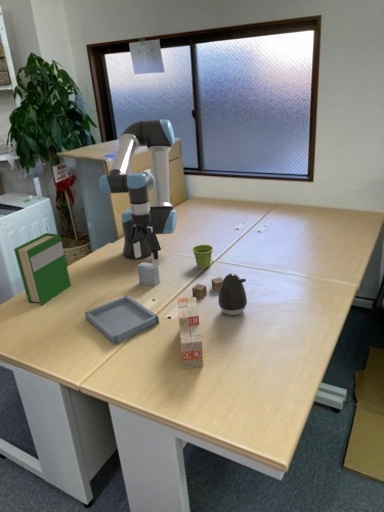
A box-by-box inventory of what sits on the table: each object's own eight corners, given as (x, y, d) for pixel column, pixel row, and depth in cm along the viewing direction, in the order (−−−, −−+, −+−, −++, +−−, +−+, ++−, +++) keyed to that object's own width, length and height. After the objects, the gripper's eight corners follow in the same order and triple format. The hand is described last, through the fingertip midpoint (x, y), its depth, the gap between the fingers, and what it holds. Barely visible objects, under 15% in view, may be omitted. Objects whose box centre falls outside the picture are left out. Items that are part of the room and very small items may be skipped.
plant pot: (212, 270, 179) (211, 252, 176) (191, 270, 181) (190, 252, 178) (215, 261, 188) (214, 244, 184) (195, 261, 190) (194, 244, 186)
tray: (86, 319, 149) (84, 312, 148) (127, 301, 159) (126, 294, 158) (114, 344, 133) (113, 337, 132) (159, 323, 143) (158, 316, 142)
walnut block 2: (211, 287, 165) (211, 279, 163) (220, 285, 166) (220, 277, 164) (215, 292, 162) (215, 283, 160) (224, 289, 163) (224, 281, 161)
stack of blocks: (203, 367, 120) (201, 332, 115) (183, 369, 120) (179, 334, 115) (198, 327, 140) (195, 296, 135) (180, 328, 139) (177, 298, 134)
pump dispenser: (240, 322, 140) (238, 283, 134) (214, 315, 146) (211, 277, 140) (252, 308, 148) (251, 271, 142) (227, 302, 153) (225, 266, 147)
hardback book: (42, 305, 162) (28, 250, 152) (28, 302, 165) (13, 248, 155) (71, 285, 176) (59, 234, 167) (57, 283, 179) (46, 233, 169)
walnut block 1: (192, 296, 159) (192, 287, 158) (198, 292, 162) (197, 283, 161) (201, 299, 157) (200, 290, 155) (206, 294, 160) (206, 286, 158)
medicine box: (160, 282, 173) (158, 263, 169) (155, 286, 169) (153, 268, 166) (144, 279, 176) (142, 261, 173) (139, 284, 173) (136, 266, 169)
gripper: (117, 209, 167) (124, 256, 175) (149, 220, 149) (155, 272, 157) (132, 205, 171) (138, 251, 179) (166, 216, 153) (171, 266, 161)
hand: (146, 261), depth 168 cm, fingers open, 13 cm apart
